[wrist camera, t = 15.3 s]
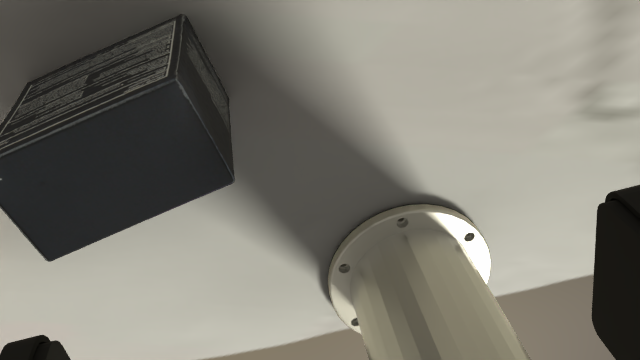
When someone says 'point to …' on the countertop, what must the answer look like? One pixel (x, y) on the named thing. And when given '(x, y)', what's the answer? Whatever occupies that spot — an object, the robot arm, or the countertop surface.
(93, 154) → the small box
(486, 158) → the countertop surface
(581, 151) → the countertop surface
